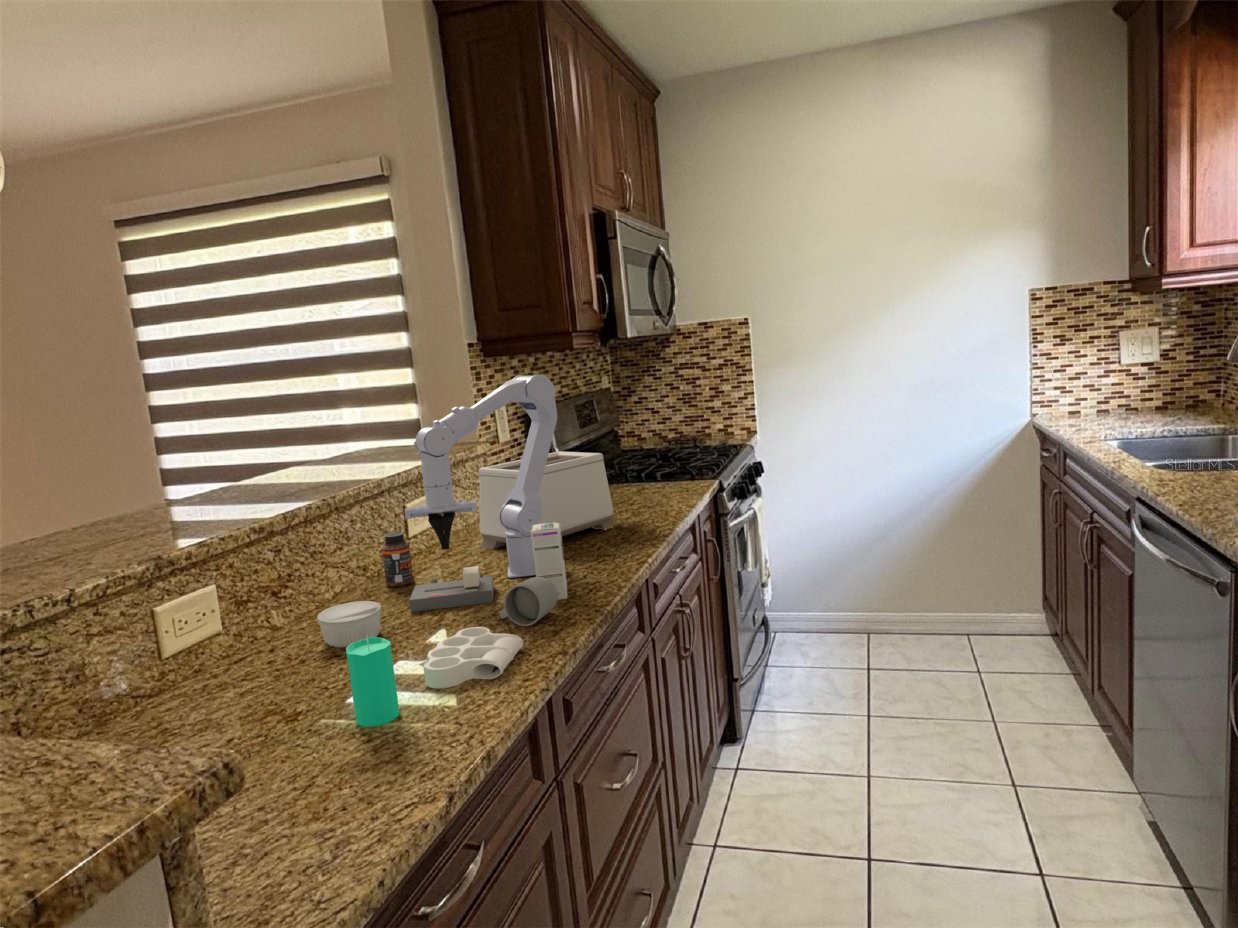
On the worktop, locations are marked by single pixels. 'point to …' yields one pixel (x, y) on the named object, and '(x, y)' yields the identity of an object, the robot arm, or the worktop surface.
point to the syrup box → (549, 556)
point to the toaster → (550, 494)
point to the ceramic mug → (529, 601)
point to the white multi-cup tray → (469, 657)
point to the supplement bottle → (397, 560)
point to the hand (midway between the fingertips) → (445, 548)
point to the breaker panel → (450, 594)
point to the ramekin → (350, 622)
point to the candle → (372, 681)
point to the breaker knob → (471, 576)
